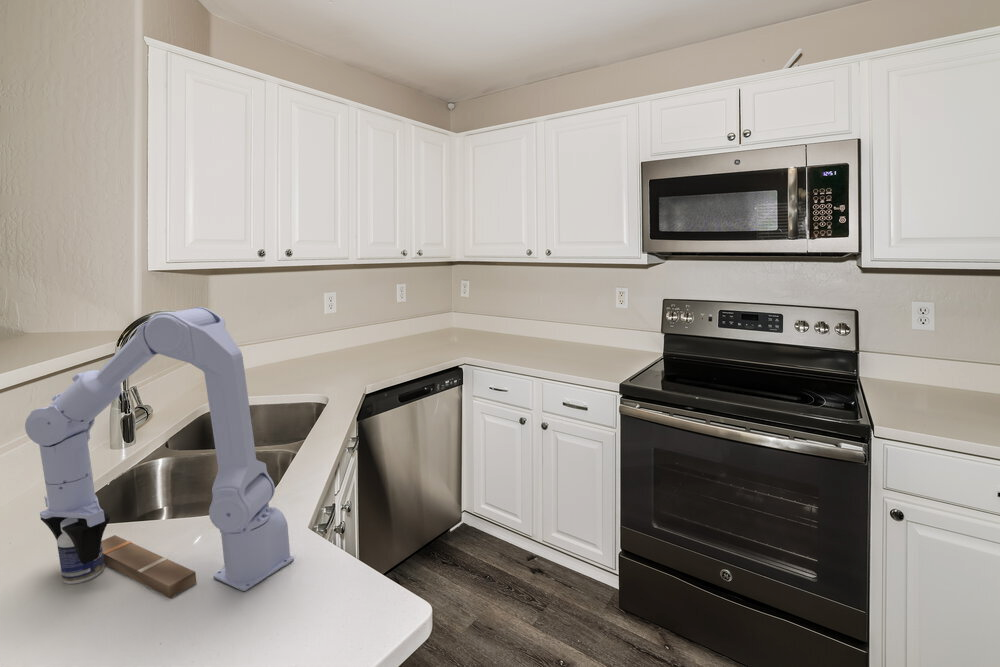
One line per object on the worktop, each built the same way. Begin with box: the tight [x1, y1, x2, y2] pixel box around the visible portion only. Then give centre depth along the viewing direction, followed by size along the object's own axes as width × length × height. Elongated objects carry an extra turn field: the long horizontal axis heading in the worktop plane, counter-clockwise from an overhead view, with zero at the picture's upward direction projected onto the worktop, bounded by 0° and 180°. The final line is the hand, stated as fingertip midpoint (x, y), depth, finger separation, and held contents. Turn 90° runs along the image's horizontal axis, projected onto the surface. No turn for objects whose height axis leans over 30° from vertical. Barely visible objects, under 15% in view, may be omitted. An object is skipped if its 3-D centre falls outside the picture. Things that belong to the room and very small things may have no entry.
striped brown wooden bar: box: [101, 535, 198, 599], centre depth 84 cm, size 4×24×2 cm, turn 62°
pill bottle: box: [56, 518, 105, 585], centre depth 82 cm, size 5×5×10 cm
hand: (80, 555), depth 82 cm, fingers closed on pill bottle, 5 cm apart
